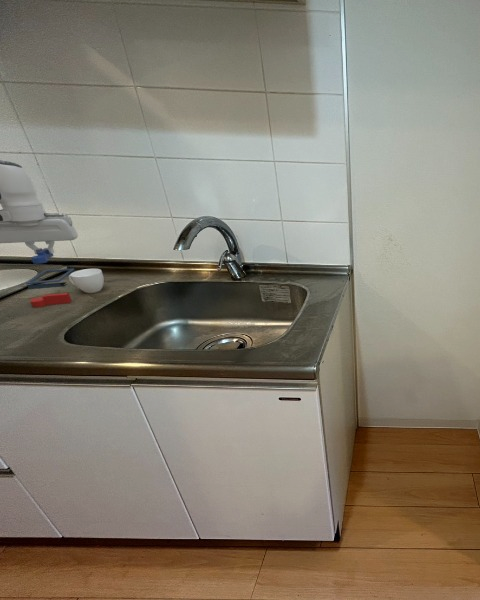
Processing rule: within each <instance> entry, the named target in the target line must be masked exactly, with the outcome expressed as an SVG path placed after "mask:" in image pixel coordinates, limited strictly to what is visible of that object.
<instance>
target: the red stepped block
mask: <svg viewBox="0 0 480 600" xmlns="http://www.w3.org/2000/svg"><path fill="white" fill-rule="evenodd" d="M72 301H73V300H72V298H71V296H70V294H69V292H62V293H51V294H44V295H42V296H38V297H34V298H31V299H29V302H30V305H31V306H32V308H41V307H45V306H52V305H63V304H70V303H72Z"/></svg>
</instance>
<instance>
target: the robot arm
mask: <svg viewBox="0 0 480 600" xmlns="http://www.w3.org/2000/svg"><path fill="white" fill-rule="evenodd" d="M0 206H1V208H2V209H0V244H16V243H17V244H18V243H19V244H20V243H24V244H25V246H26V247H28V248H29V249H30V250H32V251H33V252H34V254H35V255H37V252H39V251H40V250H42V249H44V248H41V247H38V246H36V244H35V243H41V242H44V243H45V244H46V245H48V246H47V247H45V248H46V249H44V250H45V251H46V254H53V255H54V253H55V251H54V245H55V242H64V241H65V242H66V241H67V242H68V241H74V240H76V239H77V238H78V237H79V234H78V231H77V229H76V228H75V226H74V225H73V220H72V218H71V217H70V216H69V215H67V214H64V213H62V212H57V213H51V212H49V213H47V212H46V210H45V207H44V205H43V202H42V201H41V200H40V198H39V197H38V195H37V189H36V187H35V185H34V183H33V181H32V179H31V176H29V174H28V172H27V170H26V169H25V168H24V166H22V165H20V164H18V163H16V162H11V161H7V160H0Z"/></svg>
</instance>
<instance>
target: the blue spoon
mask: <svg viewBox="0 0 480 600" xmlns="http://www.w3.org/2000/svg"><path fill="white" fill-rule="evenodd" d="M46 248H47V247H44V248H42V250H40V251H39V252H37V254H36V255H33V256H31V257H30V258H31V259H30V260H31V262H32V263H33V264H35V265H39V264H46V263H48V262H49V259H51V258H52V257H54V253H53V254H46V251H45V250H44V249H46Z"/></svg>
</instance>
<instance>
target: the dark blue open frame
mask: <svg viewBox="0 0 480 600" xmlns="http://www.w3.org/2000/svg"><path fill="white" fill-rule="evenodd" d="M55 272H56V273H57V272H66V273H64V274H63V275H61V276H60V277H59V278H58V279H49V280H38V281H36V280H37V279H38V278H39V279H40V277H42V276H43V275H44V274H46V273H55ZM73 272H75V268H61V269H45V270H43V271H41V272H40V273H38V274H36V275H35V276H34V277H32V278H31V279H29V280H27V281H26V282H25V284H26V285H27V288H28V290H41V289H50V288H62V287H63V286H64V285H65V284H67V283H68V282H67V281H63V282H61V281H62V280H64V279H65V278H66V277H67V276H69V275H70V274H71V273H73Z"/></svg>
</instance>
